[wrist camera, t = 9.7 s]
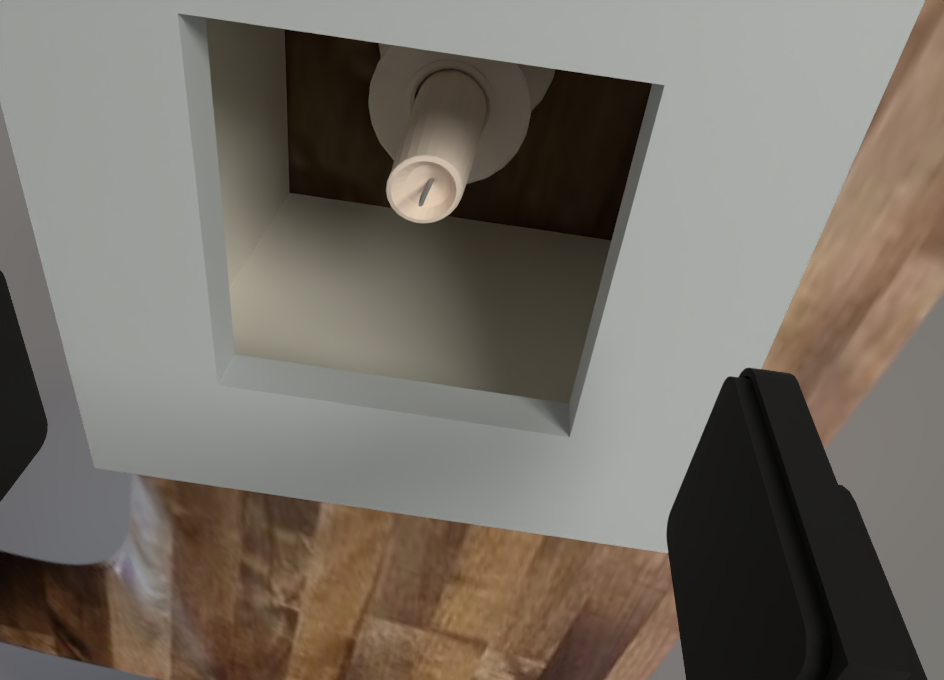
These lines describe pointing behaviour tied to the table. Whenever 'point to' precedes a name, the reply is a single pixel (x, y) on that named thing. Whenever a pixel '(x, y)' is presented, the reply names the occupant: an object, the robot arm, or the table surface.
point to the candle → (448, 123)
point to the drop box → (426, 251)
